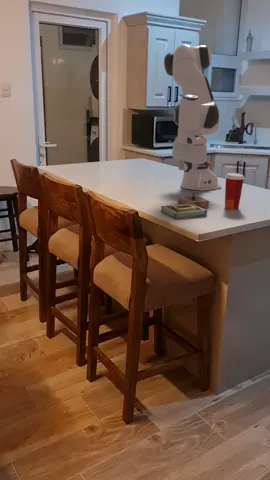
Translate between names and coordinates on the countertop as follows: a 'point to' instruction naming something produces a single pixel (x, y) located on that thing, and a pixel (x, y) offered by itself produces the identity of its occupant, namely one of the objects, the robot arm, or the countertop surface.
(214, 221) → the countertop surface
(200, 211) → the tray
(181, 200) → the stake base
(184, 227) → the countertop surface
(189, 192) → the stake
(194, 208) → the ring
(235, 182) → the coffee cup
